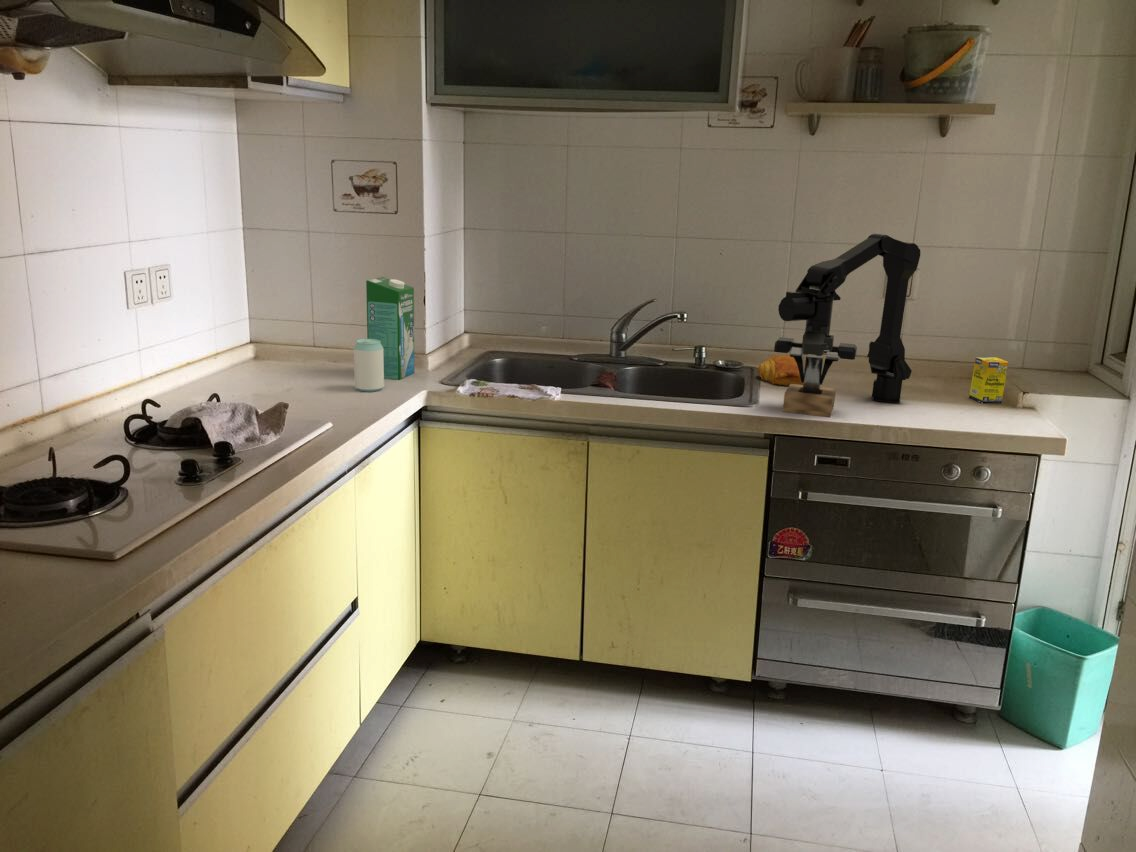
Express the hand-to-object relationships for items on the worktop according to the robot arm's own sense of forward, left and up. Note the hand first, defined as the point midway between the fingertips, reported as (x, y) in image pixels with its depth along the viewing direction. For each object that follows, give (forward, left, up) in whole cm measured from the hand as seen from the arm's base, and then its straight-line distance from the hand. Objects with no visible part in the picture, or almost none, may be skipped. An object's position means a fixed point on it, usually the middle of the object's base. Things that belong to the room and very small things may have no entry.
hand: (811, 383), depth 231 cm
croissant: (+9, -29, -7) cm, 31 cm away
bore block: (0, 0, -6) cm, 6 cm away
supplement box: (-41, -31, -7) cm, 52 cm away
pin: (0, 0, -4) cm, 4 cm away
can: (+103, +33, -7) cm, 108 cm away
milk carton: (+106, +17, -7) cm, 107 cm away
